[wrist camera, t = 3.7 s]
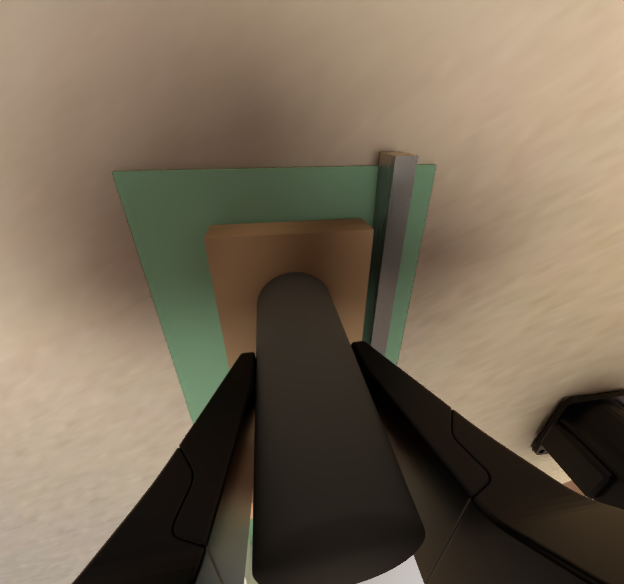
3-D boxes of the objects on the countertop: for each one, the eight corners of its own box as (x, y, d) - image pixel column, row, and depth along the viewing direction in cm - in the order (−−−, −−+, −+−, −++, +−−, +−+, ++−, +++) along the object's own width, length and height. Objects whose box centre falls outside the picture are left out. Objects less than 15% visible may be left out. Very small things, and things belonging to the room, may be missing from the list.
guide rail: (400, 151, 11) (418, 155, 10) (355, 481, 23) (360, 502, 22) (380, 152, 11) (395, 155, 10) (345, 483, 23) (350, 504, 22)
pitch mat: (433, 164, 12) (436, 164, 12) (363, 527, 28) (364, 529, 28) (114, 171, 10) (111, 171, 10) (235, 551, 26) (235, 554, 26)
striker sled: (361, 218, 12) (573, 420, 4) (343, 431, 19) (405, 661, 11) (210, 224, 11) (78, 497, 3) (249, 444, 18) (241, 703, 10)
